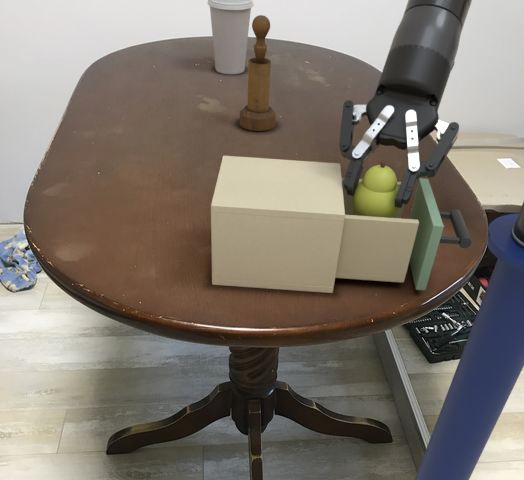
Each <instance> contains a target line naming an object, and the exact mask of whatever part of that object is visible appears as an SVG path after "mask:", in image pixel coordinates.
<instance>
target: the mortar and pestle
mask: <svg viewBox="0 0 524 480" xmlns="http://www.w3.org/2000/svg"><path fill="white" fill-rule="evenodd" d="M251 28H252V31H253V34H254V36H255V39H256V41H255V44H253V51H254V52H253V53H254V56H255V57H252V58H249V59H248V69H247V71H248V73H247V104H246V105H245V106H243V108H241V109H240V111H239V126H240V127H241V128H243V129H245V130H247V131H252V132H262V131H270V130H272V129H274V128H275V127H276V115H277V114H276V111H275V110H274V109H273V107H271V106H270V87H271V85H270V84H271V69H272V60H271V59H269V58H267V57H266V55H267V51H268V45H267V44H266V37H267V36H268V34H269V32H270V30H271V22H270V19H269V18H268V17H267V16H266V15H262V14H261V15H256V16H255V17H254V18H253V20H252V23H251Z"/></svg>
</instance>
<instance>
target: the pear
mask: <svg viewBox="0 0 524 480" xmlns="http://www.w3.org/2000/svg"><path fill="white" fill-rule="evenodd" d="M362 179H363V180H362V181H361V182H360V183H359V184H358V186H357V187H356V190H355V192H354V196H353V208H354V213H353V215H357V216H372V217H386V218H393V215H394V214H395V213H396V211H397V210H398V207H395V200H396V196H397V193H398V188H397V182H398V180H397V179H398V178H397V175H396V172H395V171H394V169H392V168H391V167H390V166H387V165H386V161H381V162H380V164H375V165H374V166H371V167H370V168H369V169H368V170H367V171H366V172H365V173H364V174H363V176H362Z"/></svg>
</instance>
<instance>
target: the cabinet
mask: <svg viewBox="0 0 524 480" xmlns="http://www.w3.org/2000/svg"><path fill="white" fill-rule="evenodd" d="M342 178H343V177H342V167H341V163H340V162H339V163H338V162H337V163H336V162H323V161H322V162H321V161H311V160H310V161H309V160H293V159H281V158H280V159H279V158H264V157H252V156H251V157H250V156H235V155H234V156H233V155H222V160H221V163H220V167H219V171H218V175H217V179H216V183H215V186H214V187H215V188H214V191H213V192H214V193H213V196H212V200H211V202H210V203H211V204H210V237H211V238H210V239H211V243H210V244H211V285H213V286H226V287H227V286H228V287H238V288H239V287H242V288H253V289H254V288H255V289H267V290H268V289H269V290H282V291H283V290H284V291H285V290H286V291H296V292H297V291H298V292H309V293H310V292H312V293H324V294H325V293H327V294H334V287H335V281H336V278H335V276H336V269H337V263H338V257H339V250H340V244H341V238H342V231H343V225H344V218H345V209H344V198H343V188H342Z"/></svg>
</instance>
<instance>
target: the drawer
mask: <svg viewBox="0 0 524 480" xmlns="http://www.w3.org/2000/svg"><path fill="white" fill-rule="evenodd" d="M344 178H345V177H342V188H343V198H344V209H345V218H344V225H343V231H342V238H341V244H340V250H339V257H338V263H337V269H336V276H335V279H344V280H345V279H348V280H359V281H360V280H361V281H373V282H374V281H376V282H387V283H388V282H390V283H401V284H402V283H405V280H406V276H407V273H408V268H409V266H410V270H411V275H412V279H413V283H414V284H413V285H414V288H415V290H416V291H426V289H427V287H428V283H429V281H430V280H429V279H430V276H431V273H432V269H433V266H434V262H435V258H436V256H437V252H438V248H439V245H440V244H448V245H459V247H460V248H461V249H468V248H470V247H471V246H472V243H473V242H472V238H471V236H470V233H469V230H468V228H467V226H466V223H465V219H464V218H463V215H462V213H461V211H460V209H458V208H455V209H451V211H440V210H439V207H438V204H437V201H436V199H435V195H434V192H433V189H432V186H431V183H430V180H429V178H424V177H420V178H418V179H417V184H416V189H415V193H414V197H413V201H412V205H411V209H410V213H409V216H408V217H409V218H402V217H403V216H402V215H403V212H404V208H405V204H402V207H401V208H398V210H397V211H396V213H395V214H394V215H393V218H386V217H372V216H357V215H353V213H354V208H353V196H350V195H347V191H346V189H345V187H344ZM362 180H363V178H360V179H359V182H358V184H359V183H360V182H361V181H362ZM400 184H401V181H397V188H398V190H399V187H400ZM357 186H358V185H357ZM442 219H450V222H451V225H452V228H453V231H454V233H455V236H443V234H442V233H443V231H444V228H445V225H444V223H443V220H442Z"/></svg>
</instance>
